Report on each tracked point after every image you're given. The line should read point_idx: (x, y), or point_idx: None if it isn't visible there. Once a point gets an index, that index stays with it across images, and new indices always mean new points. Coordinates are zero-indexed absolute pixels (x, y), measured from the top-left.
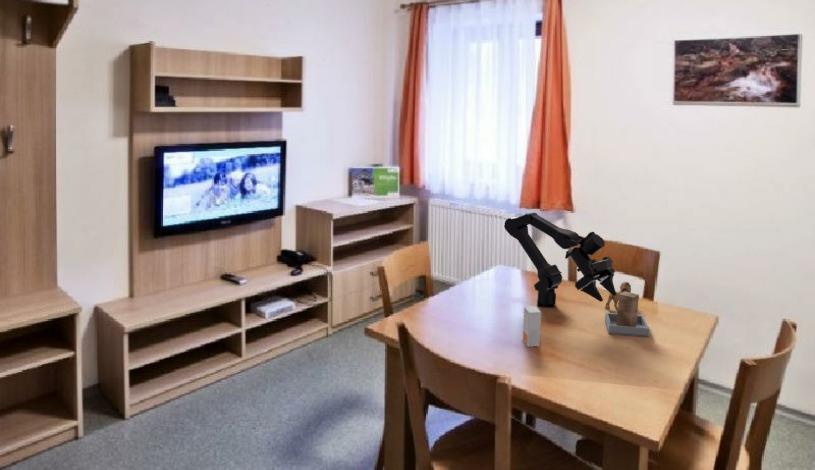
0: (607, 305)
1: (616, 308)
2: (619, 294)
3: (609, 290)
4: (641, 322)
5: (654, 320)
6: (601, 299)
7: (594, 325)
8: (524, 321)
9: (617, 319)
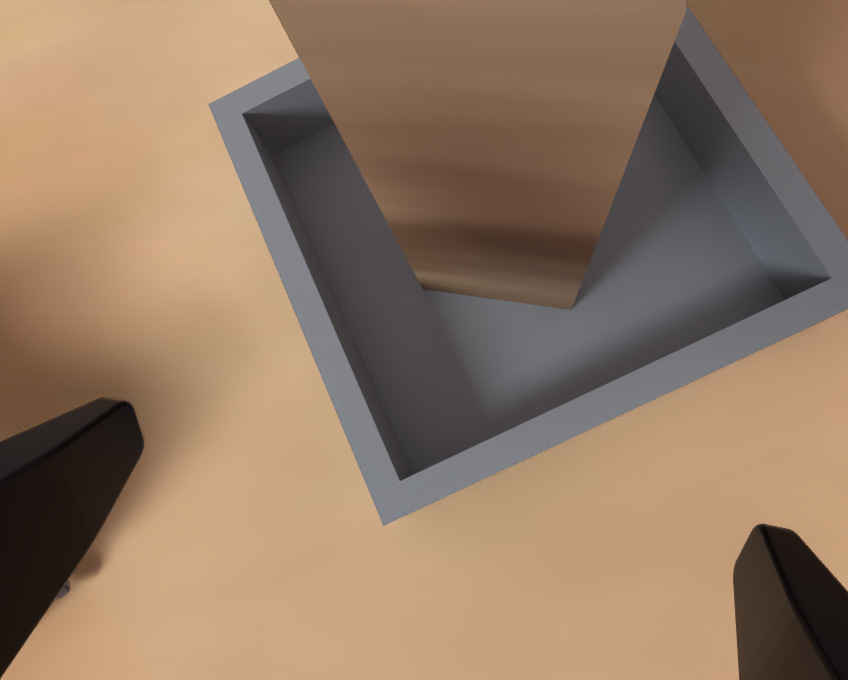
0: None
1: None
2: (683, 12)
3: (21, 599)
4: (312, 121)
5: (107, 99)
6: (811, 566)
7: (658, 566)
8: None
9: (580, 278)
